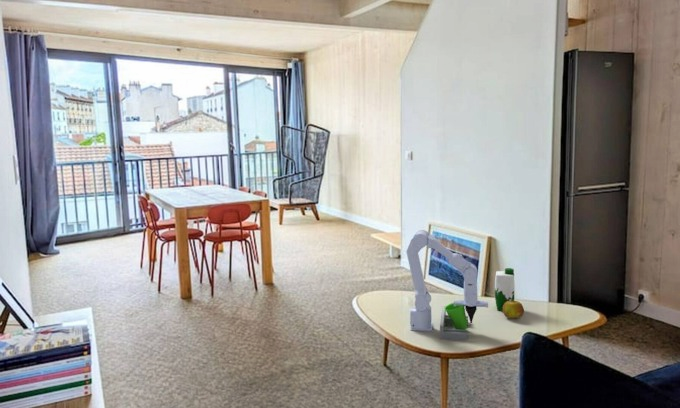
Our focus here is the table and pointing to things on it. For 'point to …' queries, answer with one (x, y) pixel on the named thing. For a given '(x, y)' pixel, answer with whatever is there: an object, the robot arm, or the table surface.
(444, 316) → the rack
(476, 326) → the table surface
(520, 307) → the fruit
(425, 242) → the robot arm
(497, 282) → the milk carton
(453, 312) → the cup
